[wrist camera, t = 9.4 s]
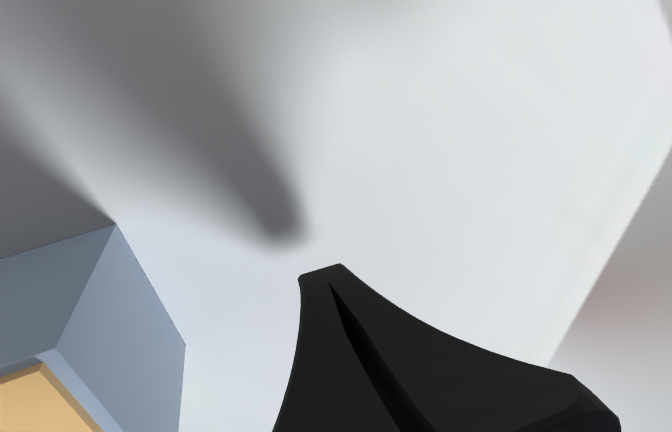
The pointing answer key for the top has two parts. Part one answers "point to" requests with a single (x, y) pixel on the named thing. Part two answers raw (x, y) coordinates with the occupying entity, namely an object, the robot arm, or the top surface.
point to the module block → (86, 341)
